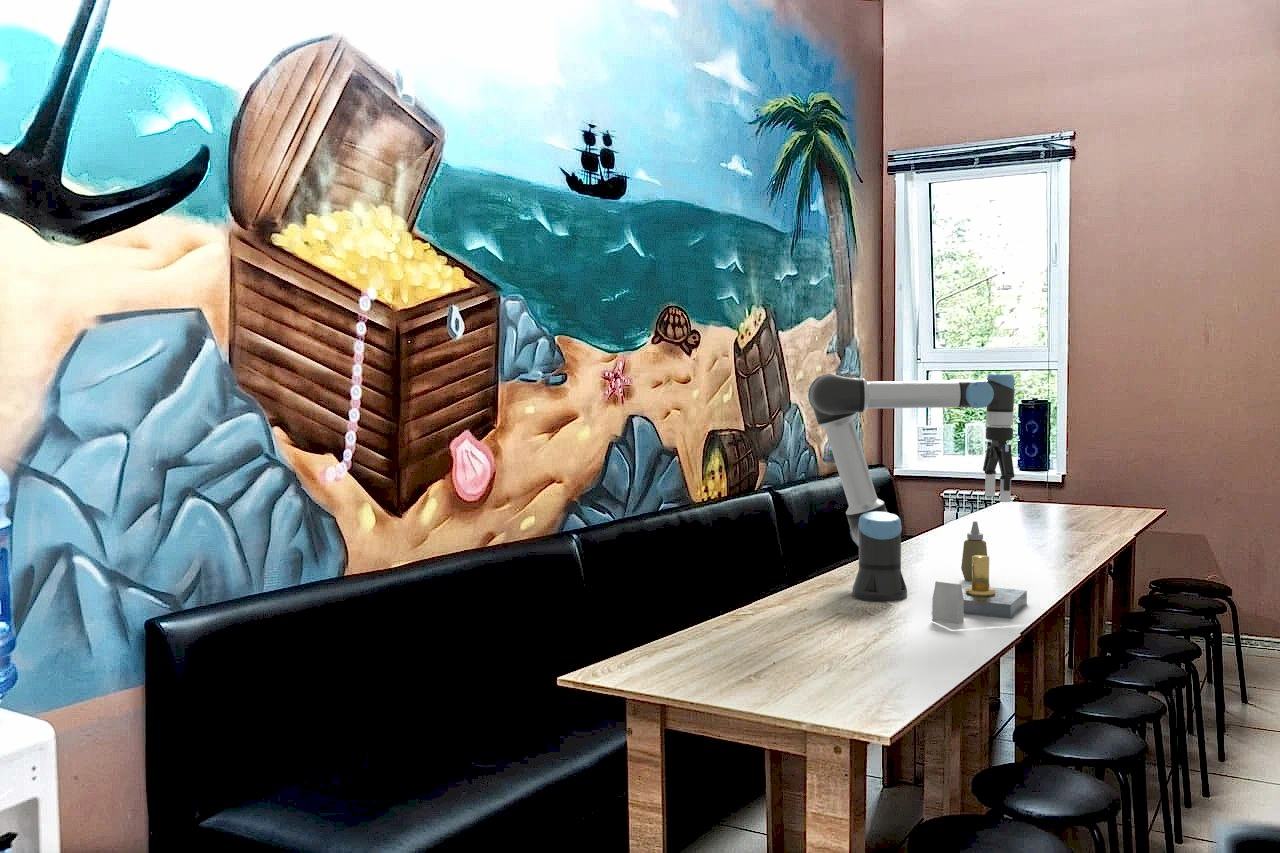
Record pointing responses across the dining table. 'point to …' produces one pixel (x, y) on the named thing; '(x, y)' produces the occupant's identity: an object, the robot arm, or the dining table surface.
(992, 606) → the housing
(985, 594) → the brass door knob
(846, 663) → the dining table surface
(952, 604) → the tea bag
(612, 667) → the dining table surface
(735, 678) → the dining table surface
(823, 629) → the dining table surface
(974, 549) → the squeeze bottle
